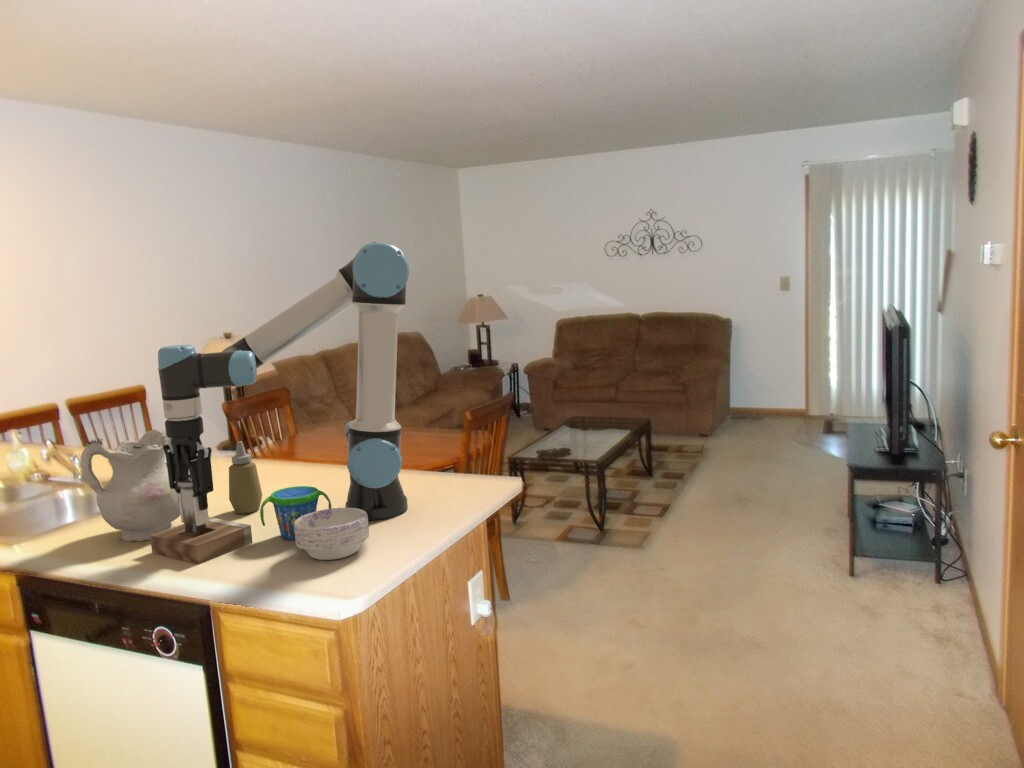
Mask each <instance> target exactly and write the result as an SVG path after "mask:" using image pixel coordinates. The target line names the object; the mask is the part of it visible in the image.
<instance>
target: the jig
mask: <svg viewBox="0 0 1024 768" xmlns="http://www.w3.org/2000/svg"><path fill="white" fill-rule="evenodd" d="M208 518H209V522H208V523H206V527H207V528H206V529H205V530H202V531H199V532H192V533H189V532H185V526H184V523H182V524H180V525H177V526H176V527H173V528H170V529H168V530H165V531H162V532H159V533H156V534H153V535H150V540H149V541H150V546H151V554H154V555H155V554H156V555H159V556H163V557H168V558H170V559H175V560H179V561H184V562H188V563H192V564H197V565H200V564H203V563H206V562H208V561H210V560H213V559H215V558H217V557H220V556H223V555H225V554H228V553H230V552H233V551H235V550H238V549H240V548H243V547H245V546H248V545H250V544H253V534H252V525H251V524H247V523H242V522H238V521H237V522H236V521H232V520H226V519H221V518H215V517H210V516H208Z"/></svg>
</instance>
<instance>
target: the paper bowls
mask: <svg viewBox="0 0 1024 768" xmlns="http://www.w3.org/2000/svg"><path fill="white" fill-rule="evenodd" d="M331 508H332V509H329V508H328V509H327V508H326V509H325V508H324V509H320V510H316V512H312V513H309V514H306V515H303V516H301V517H300V518H298V519H297V520H296V521H295V522H294V530H295V539H294V540H295V541H294V542H295V545H296V547H297V548H299V549H300V550H304V551H306V552H307V554H308V555H309V557H311V558H313V559H315V560H320V561H332V560H333V561H334V560H340V559H343V558H347V557H350V556H352V555H353V554H355V553H356V552H357V551H358V550H359V548H360V546H361V543H363V542H364V541H366V540H367V539H368V538H369V537H370V528H369V527H370V526H369V520H368V515H367V513H366V512H365V511H364V510H361V509H357V508H345V507H331Z"/></svg>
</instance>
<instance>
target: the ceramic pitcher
mask: <svg viewBox="0 0 1024 768" xmlns="http://www.w3.org/2000/svg"><path fill="white" fill-rule="evenodd" d="M171 439H172V438H168V437H167V436H166V430H162V429H158V428H155V429H154V428H153V429H151V430H149V431H146V432H145V433H144V434H143V435H142V437H141V438H140V439H139V440H133V441H131V440H127V439H126V440H123V441H121V442H119V444H118V446H117V447H116V448H115V450H111V449H108V448H107V447H106V446H105V444H104V443H103V441H104V439H103V438H99V437H98V438H96V439H93V438H92V440H88V441H87V442H85V444H86V446H85V447H84V449H83V451H82V452H81V455H80V467H81V469H82V470H81V471H82V475H83V476H84V479H85V480H86V482H87V484H88V485H89V487H90V488H91V489H92V490H93V491H94V493H95V494H96V504H97V507H98V509H99V512H100V513H99V514H100V515H101V517H102V519H103V521H104V522H105V523H107V524H108V525H109V526H110V527H111V528H113V529H115V530H119V531H123V532H122V534H121V535H120V537H119V539H120V540H122V541H124V542H127V543H130V542H143V541H146V542H147V541H151V540H150V535H153V534H156V533H159V532H162V531H165V530H168V529H170V528H173V527H176V526H174V525H173V524H172V522H174V521H175V520H177V519H178V518H179V517H181V515H180V506H179V502H178V494H177V493H176V491H175V489H171V488H170V485H169V478H168V470H167V467H166V464H165V452H164V449H163V446H164V445H167V444H170V443H171ZM96 455H97V456H98V455H100V456H102V457H103V458H104V459H108V461H109V463H110V466H111V469H112V474H111V477H110V480H109V481H108V482H107V483H106V484H105V485H103V486H102V485H101V483H100V480H99V479H98V477H97V476H96V474H95V473H94V471H93V467H92V466H93V465H92V460H93V457H94V456H96ZM174 483H175V482H174Z"/></svg>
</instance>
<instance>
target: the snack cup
mask: <svg viewBox="0 0 1024 768" xmlns="http://www.w3.org/2000/svg"><path fill="white" fill-rule="evenodd" d="M320 496H323V497H324V498H325V499H326V500H327V502H328V509H332V508H333V507H332V502H331V499H330V498H329V496H328V494H327V493H326V492H324V491H322V490H319V488H317V487H314V486H310V485H309V486H307V485H305V486H304V485H302V486H301V485H300V486H299V485H298V486H297V485H295V486H290V487H284V488H281V489H278V490H275V491H273V492H272V493H271V494H270V496H267V497H266V498H265V499H264V500H263V501H262V502H261V503H262V504H260V508H259V510H260V511H259V516H260V521H261V524H262V526H263V527H265V526H266V523H265V520H264V507H265V505H267V504H268V503H269V502H270V503H272V504H273V508H274V512H275V518H276V521H277V526H278V528H279V532H280V537H282V538H284V539H286V540H290V541H291V540H295V530H294V522H295V521H296V520H297V519H298V518H300V517H301V516H303V515H306V514H309V513H312V512H316V511H317V507H318V502H319V497H320Z"/></svg>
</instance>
